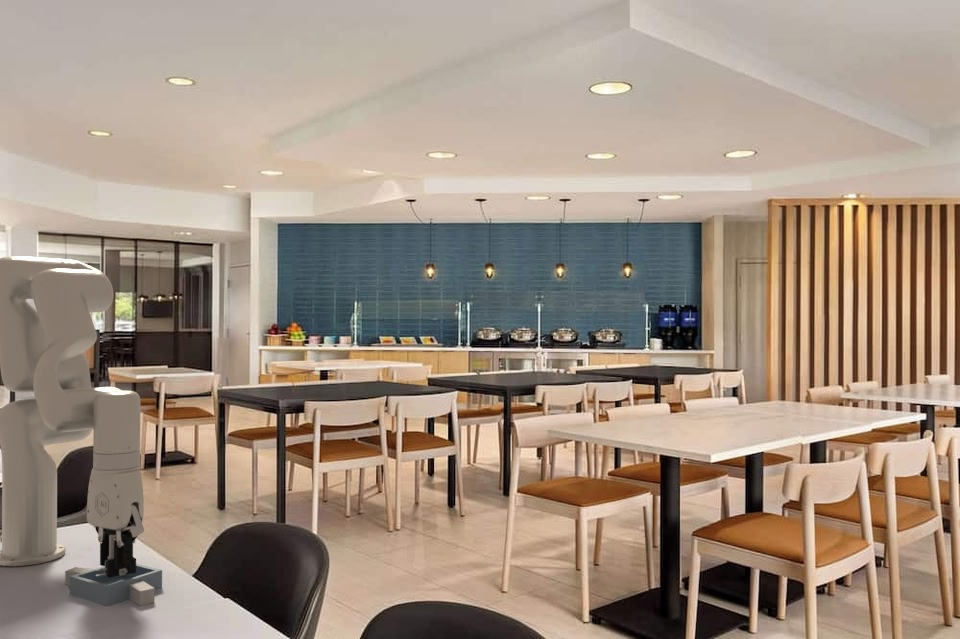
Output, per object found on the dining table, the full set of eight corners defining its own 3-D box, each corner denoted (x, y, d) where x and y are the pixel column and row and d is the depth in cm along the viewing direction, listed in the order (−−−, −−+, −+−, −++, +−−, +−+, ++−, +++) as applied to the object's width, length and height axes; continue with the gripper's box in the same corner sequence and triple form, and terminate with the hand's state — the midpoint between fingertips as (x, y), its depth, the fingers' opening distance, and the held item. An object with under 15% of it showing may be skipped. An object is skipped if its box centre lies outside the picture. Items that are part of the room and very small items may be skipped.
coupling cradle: (49, 588, 139) (49, 570, 139) (104, 571, 148) (104, 555, 148) (127, 611, 128) (127, 592, 128) (181, 592, 137) (181, 574, 137)
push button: (100, 582, 134) (100, 524, 134) (91, 575, 138) (91, 518, 138) (140, 574, 138) (141, 517, 138) (131, 567, 142) (131, 512, 142)
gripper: (68, 460, 139) (68, 563, 139) (127, 469, 130) (127, 579, 130) (107, 454, 145) (107, 553, 145) (166, 462, 137) (165, 567, 137)
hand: (116, 564), depth 138 cm, fingers closed on push button, 3 cm apart
